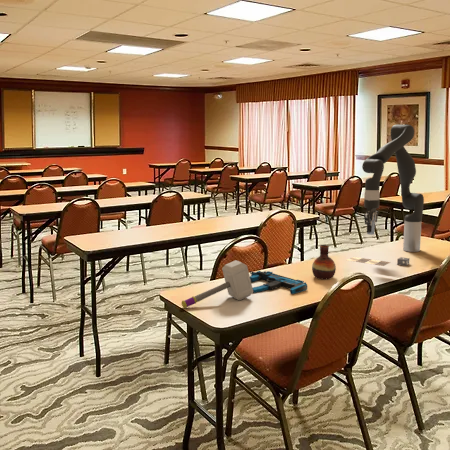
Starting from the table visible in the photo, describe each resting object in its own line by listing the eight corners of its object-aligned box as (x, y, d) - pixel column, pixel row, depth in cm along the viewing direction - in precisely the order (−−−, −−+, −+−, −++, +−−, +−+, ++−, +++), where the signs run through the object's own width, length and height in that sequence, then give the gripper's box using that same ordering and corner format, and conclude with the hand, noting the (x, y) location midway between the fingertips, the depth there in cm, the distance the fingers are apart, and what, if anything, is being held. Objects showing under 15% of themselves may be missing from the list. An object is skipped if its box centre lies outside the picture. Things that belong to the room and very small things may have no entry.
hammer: (181, 290, 207) (246, 262, 219) (174, 285, 214) (236, 258, 226) (191, 324, 211) (254, 295, 224) (183, 318, 218) (244, 290, 231)
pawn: (368, 232, 279) (369, 214, 277) (375, 233, 277) (376, 215, 275) (365, 234, 276) (366, 215, 274) (372, 234, 274) (373, 216, 272)
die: (400, 265, 275) (400, 257, 275) (409, 267, 273) (409, 258, 272) (397, 267, 272) (397, 258, 271) (405, 268, 269) (406, 260, 268)
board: (353, 259, 290) (353, 256, 290) (391, 264, 277) (391, 262, 277) (345, 262, 282) (345, 260, 282) (383, 268, 270) (383, 266, 269)
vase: (335, 274, 259) (336, 243, 257) (335, 281, 249) (336, 248, 246) (312, 273, 262) (313, 243, 259) (311, 280, 251) (311, 247, 248)
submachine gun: (221, 277, 248) (260, 265, 263) (221, 285, 249) (261, 273, 264) (273, 294, 222) (313, 280, 237) (273, 303, 222) (314, 288, 238)
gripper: (370, 196, 281) (369, 228, 284) (359, 199, 270) (358, 233, 273) (384, 197, 276) (382, 230, 279) (373, 200, 265) (372, 234, 268)
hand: (370, 231), depth 276 cm, fingers closed on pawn, 3 cm apart
